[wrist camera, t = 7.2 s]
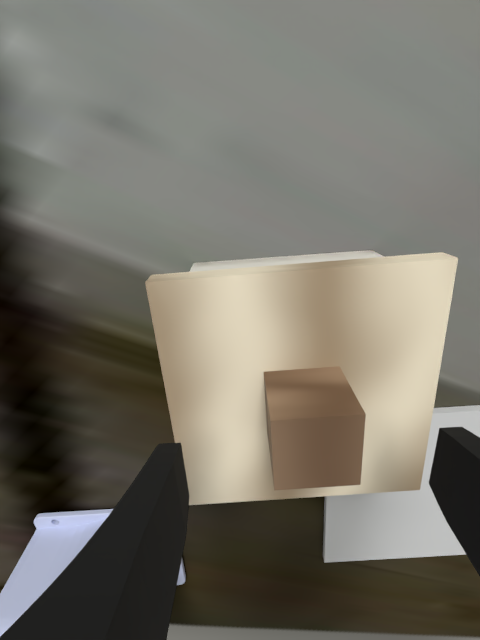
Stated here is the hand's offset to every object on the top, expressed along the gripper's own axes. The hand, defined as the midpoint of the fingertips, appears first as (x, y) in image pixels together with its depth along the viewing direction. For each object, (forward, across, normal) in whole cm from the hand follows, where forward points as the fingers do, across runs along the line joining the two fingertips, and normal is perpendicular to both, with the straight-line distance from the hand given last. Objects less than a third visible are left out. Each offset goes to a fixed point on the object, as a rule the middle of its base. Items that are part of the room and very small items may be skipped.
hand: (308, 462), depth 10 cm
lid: (+5, -1, +1) cm, 6 cm away
